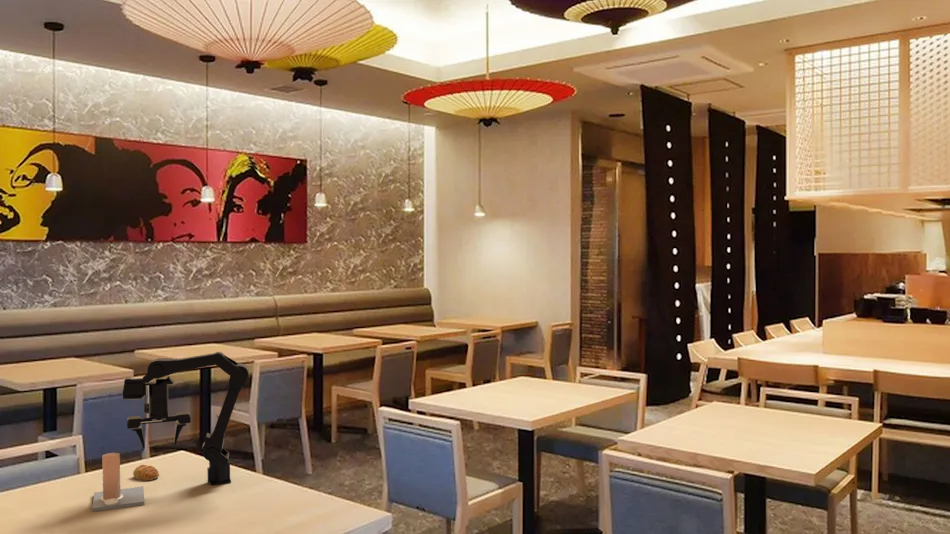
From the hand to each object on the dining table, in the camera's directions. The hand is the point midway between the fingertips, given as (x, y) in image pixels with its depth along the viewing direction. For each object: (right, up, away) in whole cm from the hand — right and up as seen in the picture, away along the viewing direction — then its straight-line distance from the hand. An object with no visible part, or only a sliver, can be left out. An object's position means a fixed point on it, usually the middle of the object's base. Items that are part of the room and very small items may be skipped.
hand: (159, 446), depth 246 cm
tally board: (-7, -13, -13) cm, 20 cm away
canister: (-9, -12, -14) cm, 20 cm away
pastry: (-9, -13, +11) cm, 19 cm away
